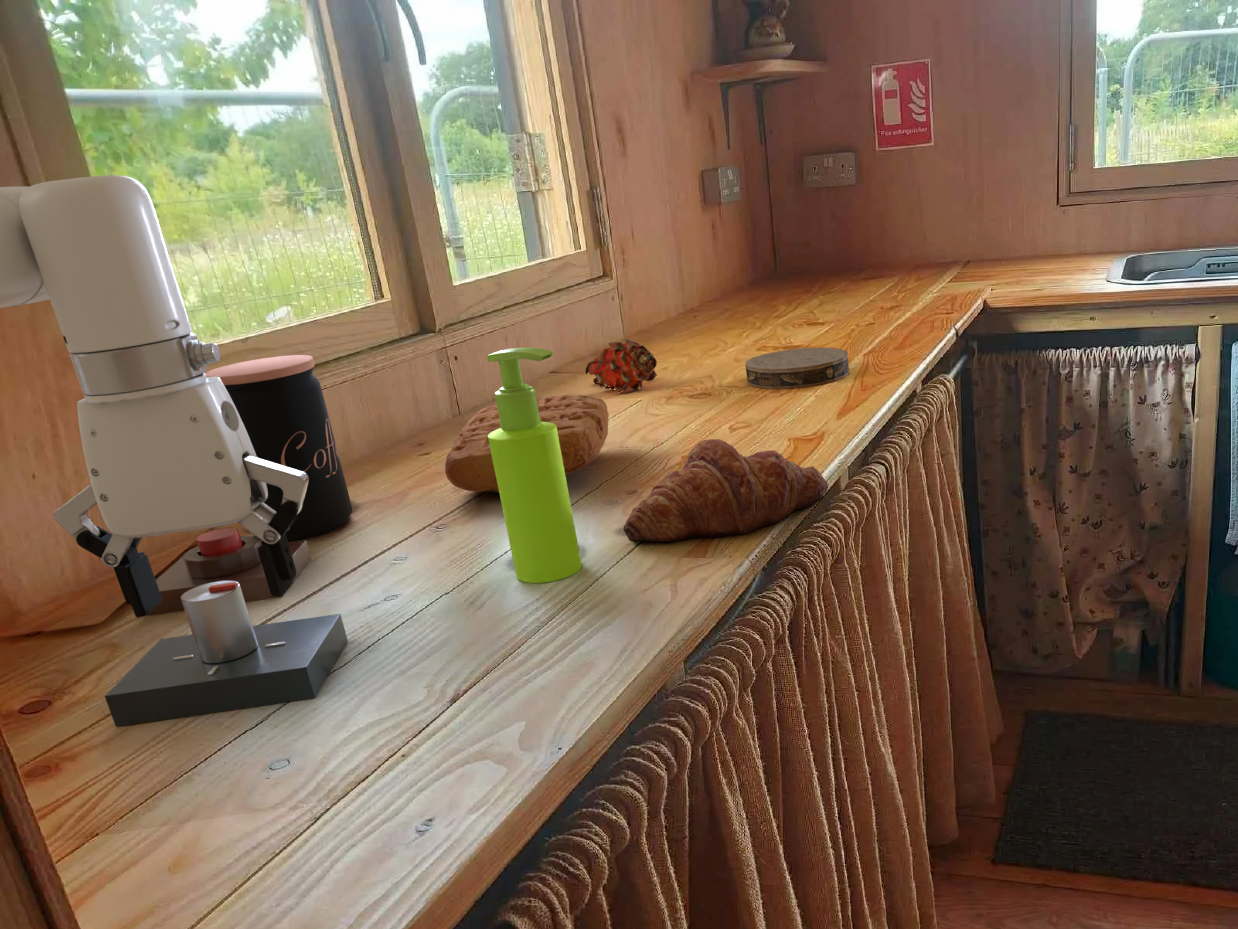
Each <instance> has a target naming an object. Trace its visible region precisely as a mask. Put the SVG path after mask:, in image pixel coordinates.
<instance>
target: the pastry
mask: <svg viewBox="0 0 1238 929" xmlns="http://www.w3.org/2000/svg"><path fill="white" fill-rule="evenodd" d="M828 489H829V483H828V482H827V480H826V479H825V478H824V476H823V475H822V472H820V471H819V470H818V469H817V468H815V466H814V465H813V466H806V467H804V466H803V467H801V466H799V465H797V463H795V461H790V460H789V459H787V458H786V457H784V456H783V454H781V453H779V452H778V451H776V450H773V449H772V450H771V449H770V450H763V451H757V452H755V453H753V454H750V455H746V456H743V455H742V454H741V453H739V451H738V450H737V449H736V448H735V447H734V446H733V445H732V444H730V443H728V442H727V441H726V440H722V439H719V438H710V439H704V440H701V441H699V442H698V443H697V444H695V445H694V446H693V447H692V449H691V450H690V451H689V452H688V457H687V459H686V460H685V461H684V465H683V466H682V468H681V470H675V471H669V472H668V473H666V475H665V476H663V478H661V479H660V480H659V481H658V482H657V483H656V485H655V486H653V487H652V488H651V491H650V493H649V494H648V496H647V497H646V498H645V499H643V500H641V501H640V502H639V503H638V504H637V505H635V506H634V507H633V508H632V510H631V512H630V514H629V516H628V517H627V520H626V521H625V524H624V526H623V532H624V534H625V536H626V537H627V539H628V541H630V542H632V543H636V544H637V543H640V542H643V541H644V542H673V541H680V540H685V541H687V540H689V539H697V538H717V537H723V536H729V535H739V534H740V535H747V534H748V533H751V532H754V531H756V530H757V529H760V528H763V527H767V526H769V525H773V524H776V523H778V522H779V521H781V520H783V519H784V518H787V517H789V515H791V514H792V513H794V512H796V511H800V510H805V509H807V508H809V507H811V506H812V505H815V504H816V503H817V502H819V501H820V500H821V499H822V498H823V496H824V495H825V493H827V492H828Z"/></svg>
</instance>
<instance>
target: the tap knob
mask: <svg viewBox="0 0 1238 929" xmlns="http://www.w3.org/2000/svg"><path fill="white" fill-rule="evenodd" d="M181 601H182V604H183V607H184V610H185V611H184V614H185V616H186V619H187V621H188V625H189V629H190V631H191V635H193V638H194V641H195V644H196V647H197V650H198V653H199V656H200V659H201V660H202V661H203V662H205V663H221V662H227V661H231V660H234V659H237V658H240V657H242V656H245V655H247V654H249V653H250V652H252V651H253V650H255V649H256V647H257V645H258V643H257V639H256V636H255V633H254V630H253V626H254V625H253V623H252V621H251V617H250V614H249V611H248V607H247V604H246V602H245V600H244V597H243V594H242V591H241V587H240V584H239V583H238V582H236V581H217V582H212V583H208V584H204V585H201V586H198V587H195V588H193V589H191V590H189V591H187V592H185V593H184V594H183V595H182V596H181Z"/></svg>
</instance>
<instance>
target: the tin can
mask: <svg viewBox="0 0 1238 929" xmlns="http://www.w3.org/2000/svg"><path fill="white" fill-rule="evenodd" d="M744 364H745V373H746V383H747V385H749V386H750V387H751V388H757V389H765V390H789V389H799V388H801V389H802V388H810V387H815V386H816V387H817V386H821V385H825V384H830V383H833V382H832V381H834V382H837V381H839V380H838V379H840V380H842V379H845V378H846V377H847V376H848V374H849V375H850V368H849V367H850V366H849V355H848V350H845V349H843V348H836V347H801V348H792V349H791V348H790V349H785V350H778V351H772V352H767V353H763V354H760V355H757V356H753V357H751V358H749V359H748V360H746V361H745V363H744ZM846 375H847V376H846ZM845 376H846V377H845ZM844 377H845V378H844ZM841 378H842V379H841Z"/></svg>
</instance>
